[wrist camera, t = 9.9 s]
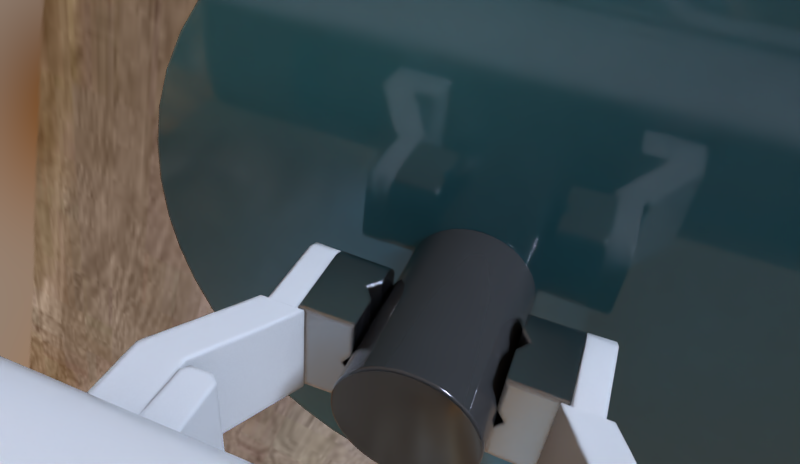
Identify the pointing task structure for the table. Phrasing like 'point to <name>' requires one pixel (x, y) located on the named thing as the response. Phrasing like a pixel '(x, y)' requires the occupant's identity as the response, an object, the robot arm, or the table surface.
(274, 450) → the table surface
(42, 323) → the table surface
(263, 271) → the pot lid
